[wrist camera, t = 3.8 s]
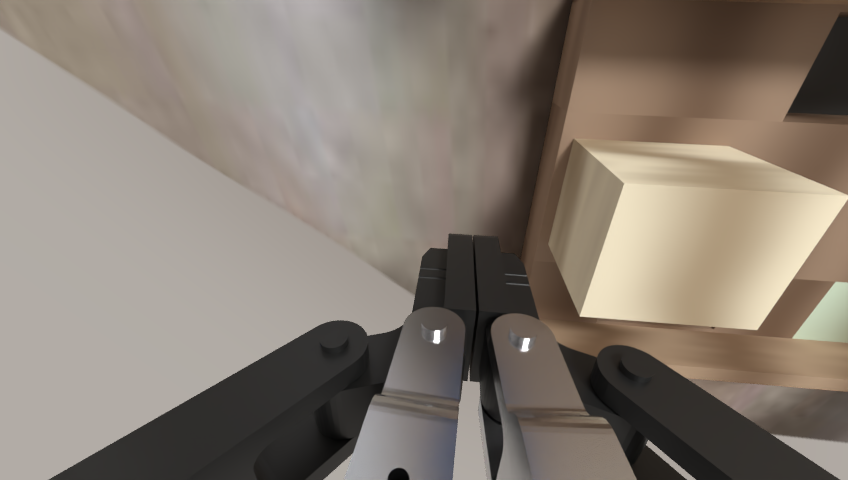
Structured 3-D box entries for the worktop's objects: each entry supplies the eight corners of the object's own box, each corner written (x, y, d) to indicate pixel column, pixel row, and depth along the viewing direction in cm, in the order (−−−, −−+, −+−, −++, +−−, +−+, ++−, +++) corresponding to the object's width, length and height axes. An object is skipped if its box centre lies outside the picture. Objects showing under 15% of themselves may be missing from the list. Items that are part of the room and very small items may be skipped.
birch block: (548, 244, 17) (579, 316, 12) (573, 138, 14) (624, 183, 10) (678, 252, 16) (757, 330, 12) (728, 146, 14) (849, 196, 10)
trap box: (512, 299, 22) (526, 364, 17) (577, -22, 14) (632, -48, 9) (857, 325, 21) (962, 401, 16) (1150, -8, 13) (1512, -30, 8)
